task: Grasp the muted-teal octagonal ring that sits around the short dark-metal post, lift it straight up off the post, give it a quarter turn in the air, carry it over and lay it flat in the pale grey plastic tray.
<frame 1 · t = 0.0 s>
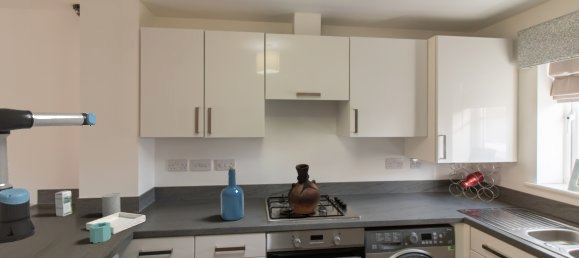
hand: (91, 165, 195), 28 cm above the worktop, fingers open, 13 cm apart
beer can: (111, 215, 177), on the worktop
wine bottle: (232, 217, 170), on the worktop
ceramic vessel: (304, 213, 176), on the worktop
tray: (116, 225, 159), on the worktop
syrup box: (64, 215, 178), on the worktop
ring: (100, 239, 140), on the worktop
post: (100, 239, 140), on the worktop
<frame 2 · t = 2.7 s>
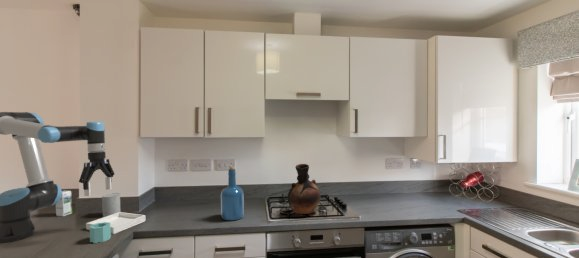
hand: (98, 192, 149), 21 cm above the worktop, fingers open, 13 cm apart
nothing on the worktop moved.
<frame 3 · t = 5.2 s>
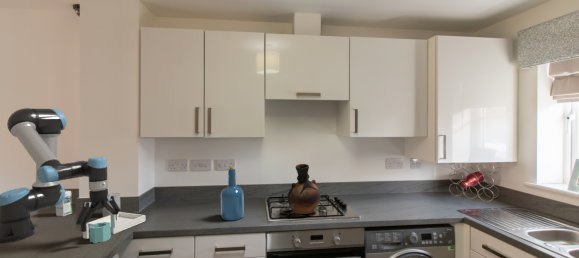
hand: (100, 232, 140), 3 cm above the worktop, fingers open, 13 cm apart
nothing on the worktop moved.
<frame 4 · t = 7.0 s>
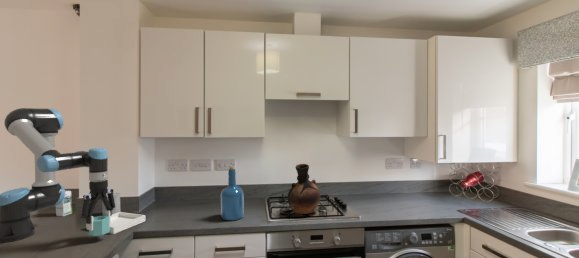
hand: (99, 226, 140), 6 cm above the worktop, fingers closed on ring, 8 cm apart
ring: (99, 232, 140), point 3 cm above the worktop, touching gripper
everything else where it was.
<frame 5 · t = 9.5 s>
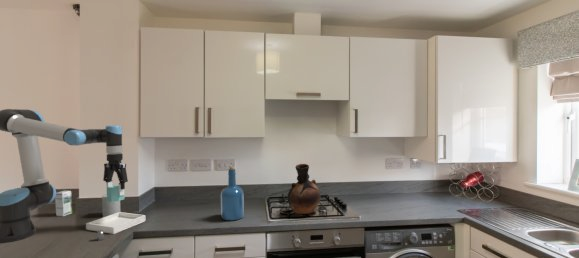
hand: (115, 194, 159), 17 cm above the worktop, fingers closed on ring, 8 cm apart
ring: (116, 199, 159), point 14 cm above the worktop, touching gripper
everything else where it was.
when the fingers open (4 cm above the worktop, at t = 12.4 s): ring stays where it is, resting on tray.
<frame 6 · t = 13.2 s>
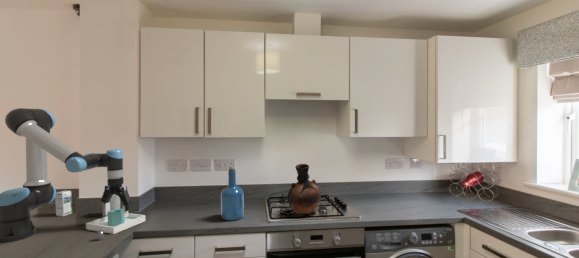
hand: (116, 215, 159), 5 cm above the worktop, fingers open, 13 cm apart
ring: (116, 223, 159), point 1 cm above the worktop, touching tray
everything else where it was.
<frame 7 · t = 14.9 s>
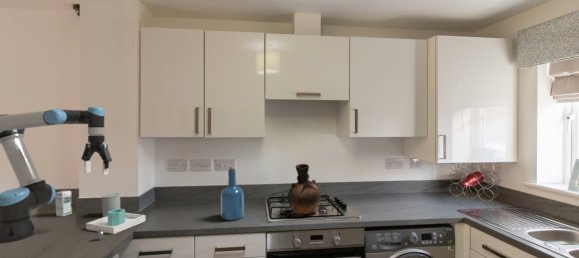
hand: (96, 173, 158), 29 cm above the worktop, fingers open, 13 cm apart
nothing on the worktop moved.
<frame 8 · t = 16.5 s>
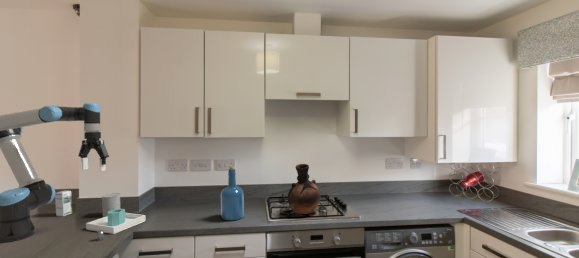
hand: (93, 170, 158), 31 cm above the worktop, fingers open, 13 cm apart
nothing on the worktop moved.
at the end: ring inside the target area on the tray (0.0 cm from its centre), point 0.8 cm above the tray's base; ring tilted 0°; the gripper is holding nothing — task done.
